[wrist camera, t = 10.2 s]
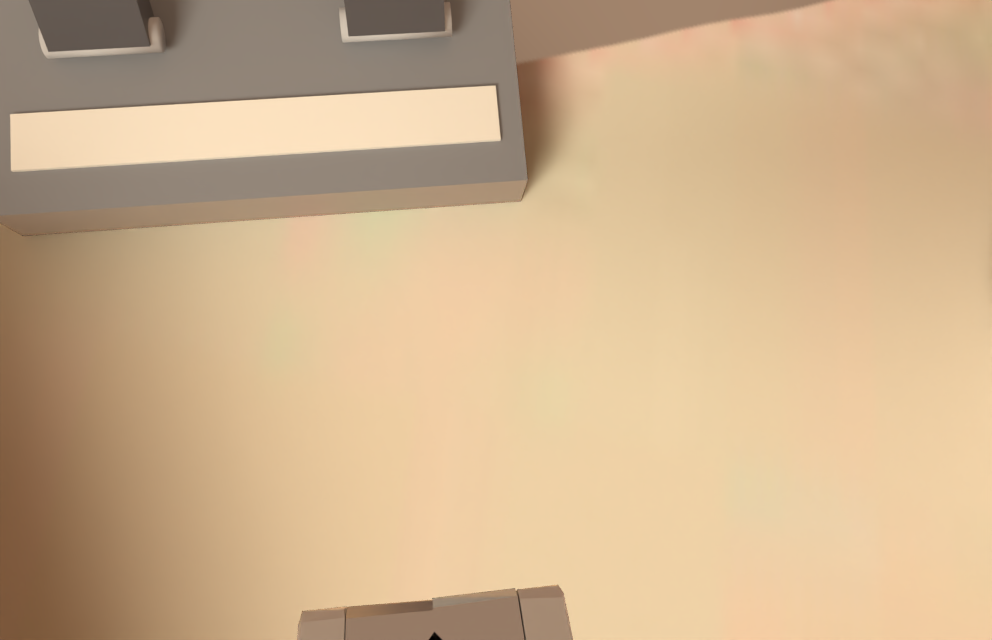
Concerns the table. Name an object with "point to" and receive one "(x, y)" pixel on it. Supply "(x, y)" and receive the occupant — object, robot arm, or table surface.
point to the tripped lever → (394, 20)
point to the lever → (97, 28)
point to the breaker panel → (257, 119)
